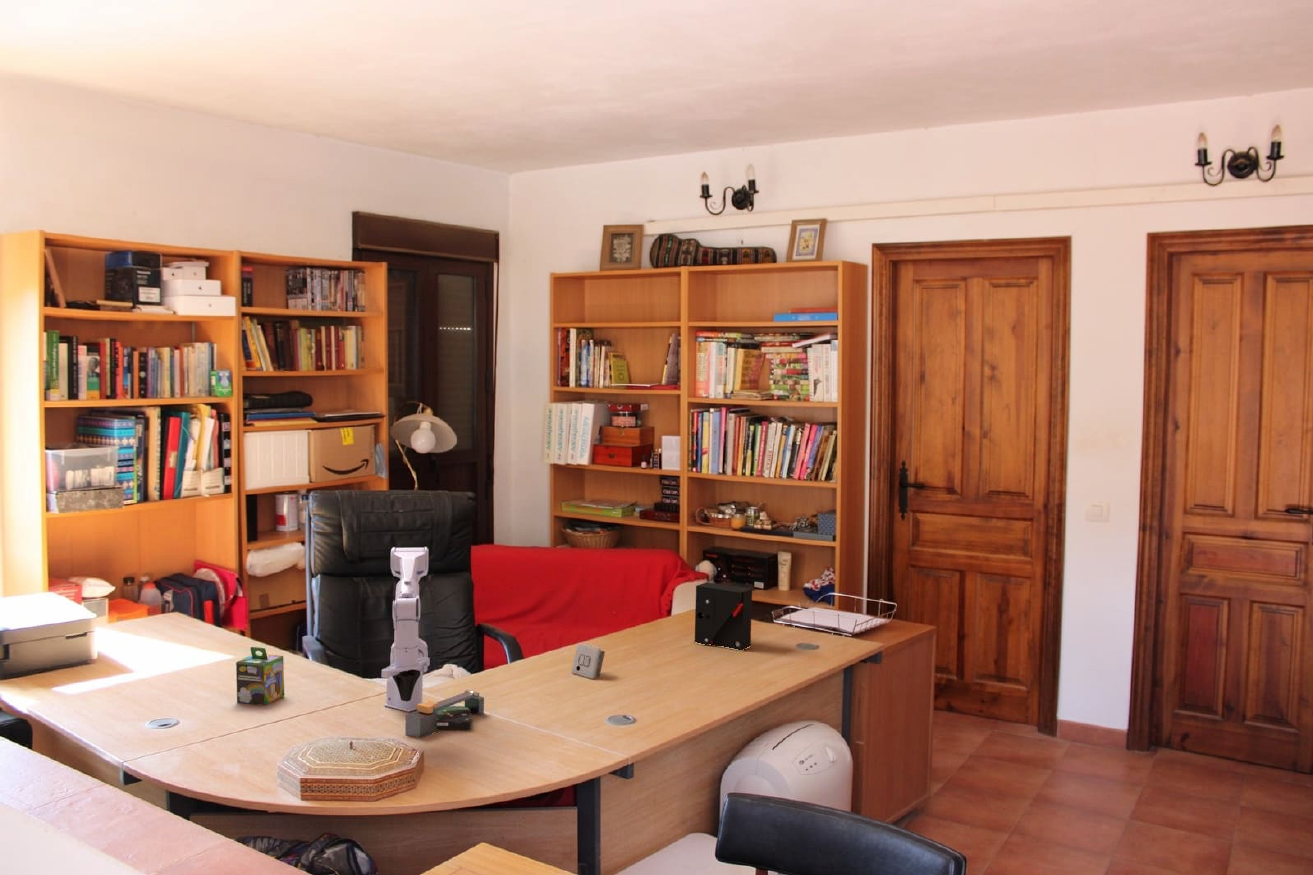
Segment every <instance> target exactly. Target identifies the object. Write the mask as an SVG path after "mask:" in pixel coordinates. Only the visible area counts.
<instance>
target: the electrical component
mask: <svg viewBox="0 0 1313 875" xmlns="http://www.w3.org/2000/svg"><path fill="white" fill-rule="evenodd" d="M752 604H753V589H752V588H749V587H740V586H735V585H729V584H720V583H714V582H704V583H701V584H700V583H699V584H697V585H695V613H694V614H695V616H694V618H695V619H694V620H695V621H694V643H695V642H697V643H701V644H705V645H704V646H706V645H707V646H710V645H709V644H711V645H715V646H714V647H716V646H724V647H729V648H734V649H738V650H743V649H745V648H747V647H749V646H751V645H752V644H751V642H752ZM738 650H737V651H738Z"/></svg>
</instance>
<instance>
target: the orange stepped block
mask: <svg viewBox="0 0 1313 875" xmlns="http://www.w3.org/2000/svg"><path fill="white" fill-rule="evenodd" d="M424 702H425V703H420V704H417V709H416V711H420V712H424V713H428V714H429V713H432V712H433V707H435V706H438V703H437V702H435V701H431V700H430V701H428V700H427V701H424Z"/></svg>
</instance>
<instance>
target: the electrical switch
mask: <svg viewBox="0 0 1313 875" xmlns="http://www.w3.org/2000/svg"><path fill="white" fill-rule="evenodd" d="M574 653H575V654H574V657H573V658H574V659H573V662H572V667H571V674H574V675H577V676H580V677H584V678H586V679H587V678H588V679H591V680H595V678H596V677H600V676H601V671H602V667H603V664H604V663H603V662H604V657H605V653H606V651H604V650H602V649H601V647H597V646H592V645H590V644H589V645H588V644H584V643H581V642H579V643H578V644H576V649H575V652H574Z"/></svg>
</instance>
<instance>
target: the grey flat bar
mask: <svg viewBox="0 0 1313 875" xmlns="http://www.w3.org/2000/svg"><path fill="white" fill-rule="evenodd" d="M479 696H480V692H478V691H473V690H470V689H469V690H468V689H465V691H464V692H463V693H460V694H457V695H454V696H451V697H447V698H446V699H443V700H440V701H437V702H436V703H438V706H435V707H433V712H435V711H438V710H441V709H444V708H446V707H451V706H455V705H456V704H457V705H458V704H460V703H462V702H465V700H468V699H470V698H473V697H476V698H478V697H479ZM433 712H432V713H433Z"/></svg>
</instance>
